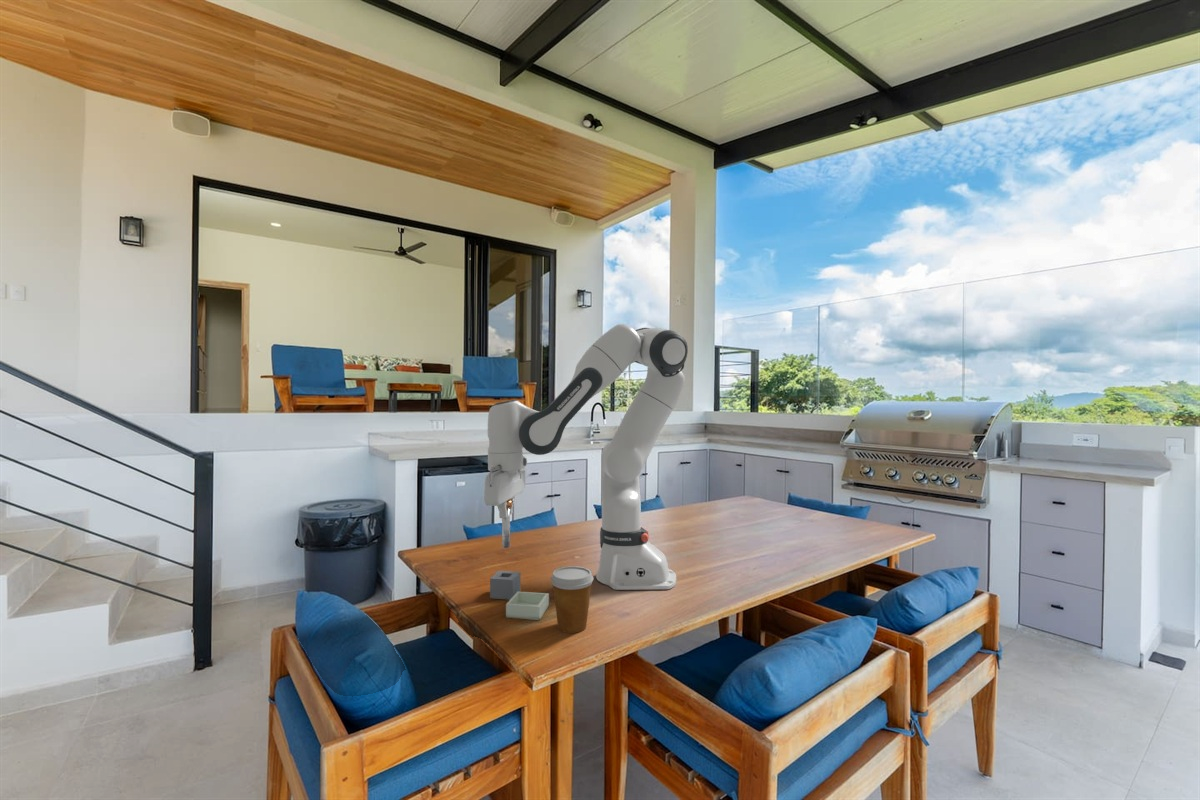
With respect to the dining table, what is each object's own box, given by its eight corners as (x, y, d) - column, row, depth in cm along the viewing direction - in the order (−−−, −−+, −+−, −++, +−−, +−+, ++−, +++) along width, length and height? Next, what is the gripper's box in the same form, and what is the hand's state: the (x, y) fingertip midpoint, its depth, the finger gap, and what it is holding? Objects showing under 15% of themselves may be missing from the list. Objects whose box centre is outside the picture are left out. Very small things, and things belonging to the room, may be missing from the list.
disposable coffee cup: (602, 628, 110) (602, 574, 110) (565, 641, 104) (564, 583, 104) (578, 613, 118) (578, 562, 118) (542, 624, 112) (542, 570, 112)
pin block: (520, 590, 132) (520, 571, 132) (512, 599, 126) (512, 579, 126) (498, 589, 133) (498, 570, 133) (490, 598, 127) (490, 578, 127)
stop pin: (514, 545, 131) (513, 499, 131) (509, 548, 128) (509, 501, 128) (502, 544, 131) (502, 499, 131) (498, 548, 128) (497, 501, 128)
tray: (548, 605, 122) (548, 593, 122) (539, 619, 114) (539, 606, 114) (517, 603, 124) (517, 591, 124) (506, 617, 116) (506, 604, 116)
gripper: (502, 468, 119) (502, 526, 119) (529, 458, 139) (529, 508, 139) (477, 468, 120) (477, 525, 120) (507, 458, 140) (508, 507, 140)
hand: (506, 516), depth 129 cm, fingers closed on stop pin, 2 cm apart
